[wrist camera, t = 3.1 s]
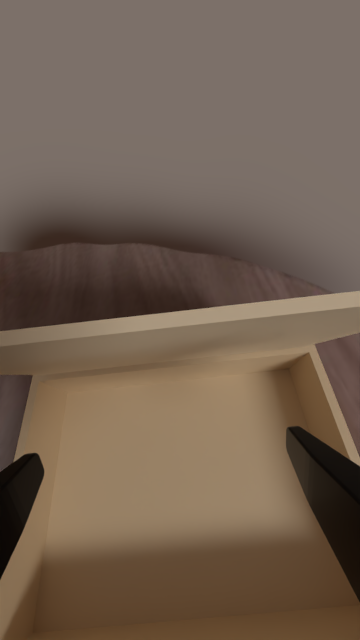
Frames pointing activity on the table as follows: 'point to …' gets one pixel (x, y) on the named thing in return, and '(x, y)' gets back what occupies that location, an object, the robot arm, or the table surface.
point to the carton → (178, 505)
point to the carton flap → (179, 335)
